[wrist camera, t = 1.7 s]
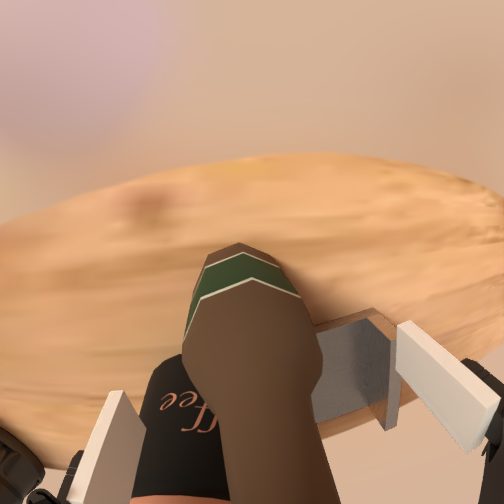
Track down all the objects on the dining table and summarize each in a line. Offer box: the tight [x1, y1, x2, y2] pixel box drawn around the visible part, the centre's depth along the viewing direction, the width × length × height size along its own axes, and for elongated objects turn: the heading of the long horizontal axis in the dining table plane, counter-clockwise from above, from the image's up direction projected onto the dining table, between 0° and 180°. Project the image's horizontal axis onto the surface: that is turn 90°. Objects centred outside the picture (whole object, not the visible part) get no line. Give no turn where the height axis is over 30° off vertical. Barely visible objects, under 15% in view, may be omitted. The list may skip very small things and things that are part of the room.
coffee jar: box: [130, 354, 231, 504], centre depth 21 cm, size 11×11×18 cm
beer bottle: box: [182, 243, 341, 504], centre depth 16 cm, size 8×8×24 cm
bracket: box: [311, 308, 402, 431], centre depth 28 cm, size 13×13×6 cm
